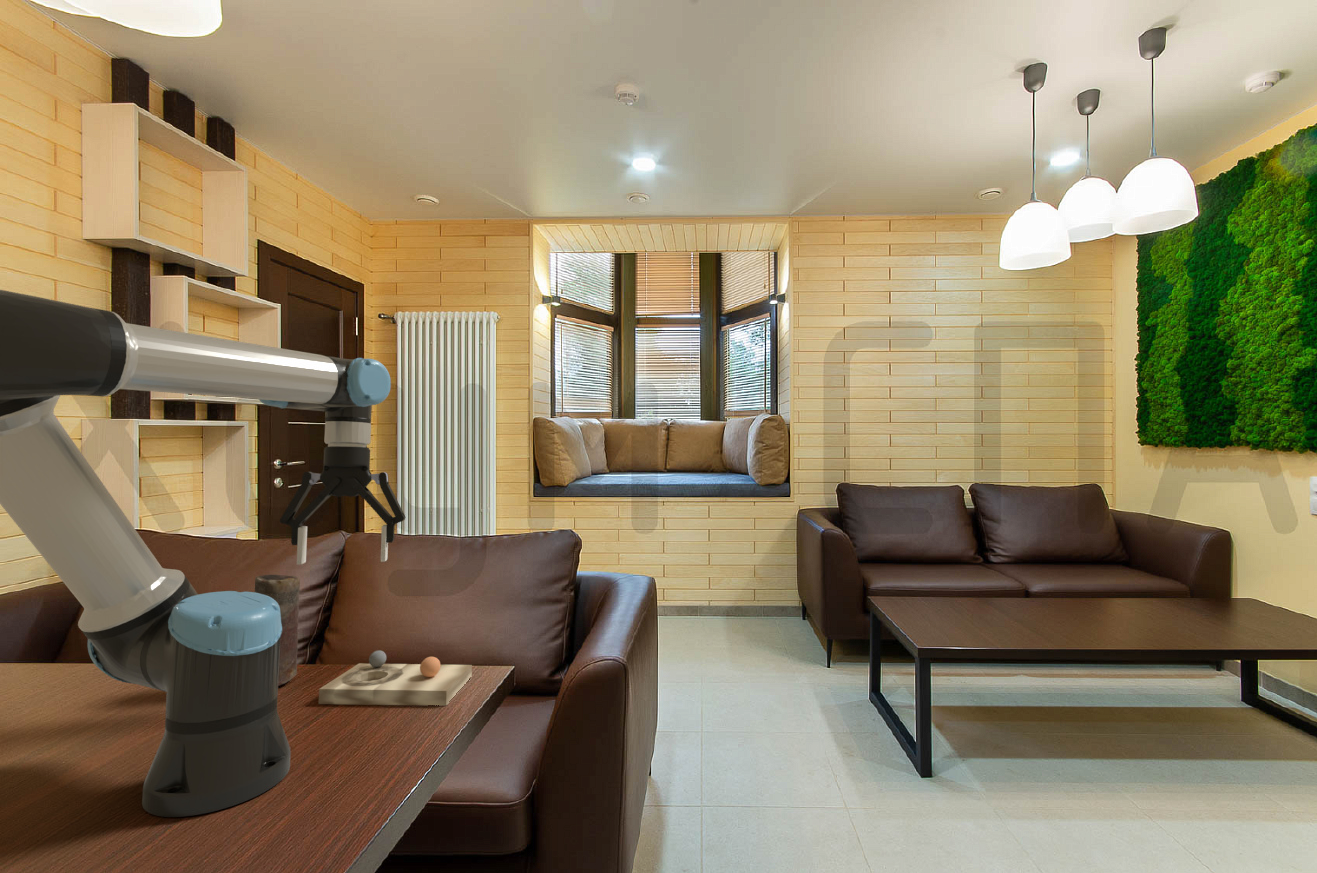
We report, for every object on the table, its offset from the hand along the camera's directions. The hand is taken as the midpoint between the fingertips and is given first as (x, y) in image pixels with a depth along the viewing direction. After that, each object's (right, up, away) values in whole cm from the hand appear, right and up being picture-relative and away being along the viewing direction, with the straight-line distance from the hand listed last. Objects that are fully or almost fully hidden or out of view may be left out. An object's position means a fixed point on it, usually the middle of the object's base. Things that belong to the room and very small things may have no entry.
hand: (343, 562), depth 106 cm
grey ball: (+4, -20, +5) cm, 20 cm away
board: (+10, -23, 0) cm, 26 cm away
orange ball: (+16, -19, 0) cm, 25 cm away
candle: (-14, -23, +2) cm, 28 cm away
